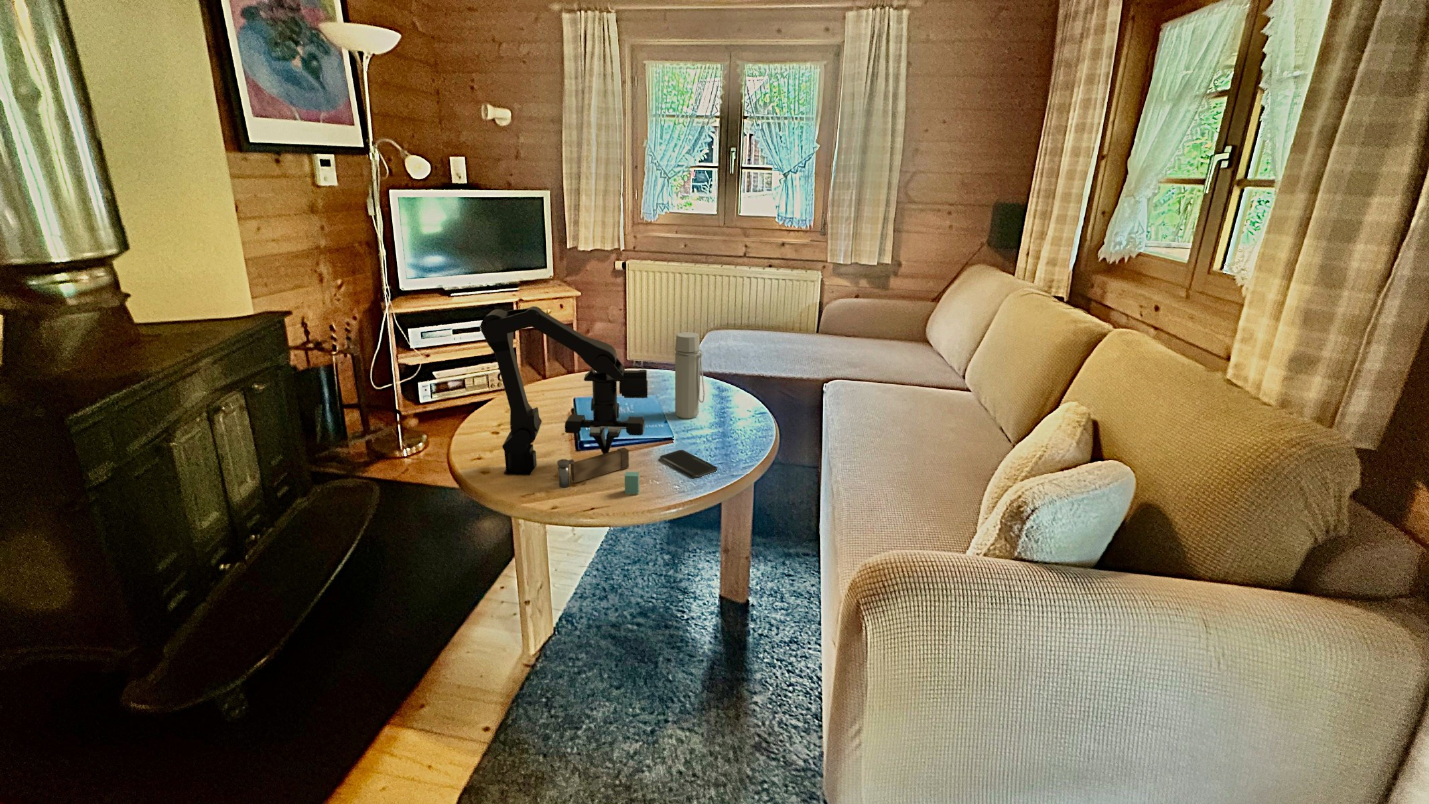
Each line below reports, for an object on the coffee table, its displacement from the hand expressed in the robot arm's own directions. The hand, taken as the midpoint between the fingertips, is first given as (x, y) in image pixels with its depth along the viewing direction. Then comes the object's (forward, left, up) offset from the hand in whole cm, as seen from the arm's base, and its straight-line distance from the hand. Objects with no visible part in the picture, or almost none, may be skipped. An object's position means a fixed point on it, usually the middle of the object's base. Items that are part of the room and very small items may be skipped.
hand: (606, 456), depth 167 cm
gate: (-2, -5, -3) cm, 6 cm away
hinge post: (-8, -10, -3) cm, 13 cm away
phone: (+20, +3, -4) cm, 21 cm away
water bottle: (+19, +38, -3) cm, 43 cm away
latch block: (+8, -12, -3) cm, 15 cm away
